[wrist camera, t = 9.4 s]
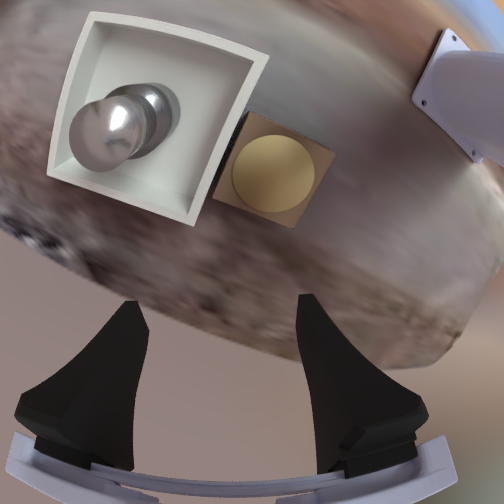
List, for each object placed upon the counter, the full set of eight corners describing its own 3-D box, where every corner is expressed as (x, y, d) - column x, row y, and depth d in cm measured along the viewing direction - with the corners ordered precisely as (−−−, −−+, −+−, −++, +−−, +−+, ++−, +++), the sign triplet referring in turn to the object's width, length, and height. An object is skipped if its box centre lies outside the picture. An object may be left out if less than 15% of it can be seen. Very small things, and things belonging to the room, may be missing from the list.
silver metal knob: (182, 141, 17) (149, 178, 11) (123, 147, 17) (69, 186, 11) (179, 78, 14) (139, 80, 9) (117, 88, 14) (55, 101, 8)
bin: (264, 61, 15) (269, 56, 12) (199, 205, 20) (193, 226, 17) (111, 19, 12) (90, 11, 9) (69, 160, 17) (46, 174, 14)
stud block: (329, 149, 18) (336, 154, 17) (290, 219, 21) (293, 230, 20) (249, 110, 16) (249, 113, 15) (213, 189, 19) (211, 198, 18)
